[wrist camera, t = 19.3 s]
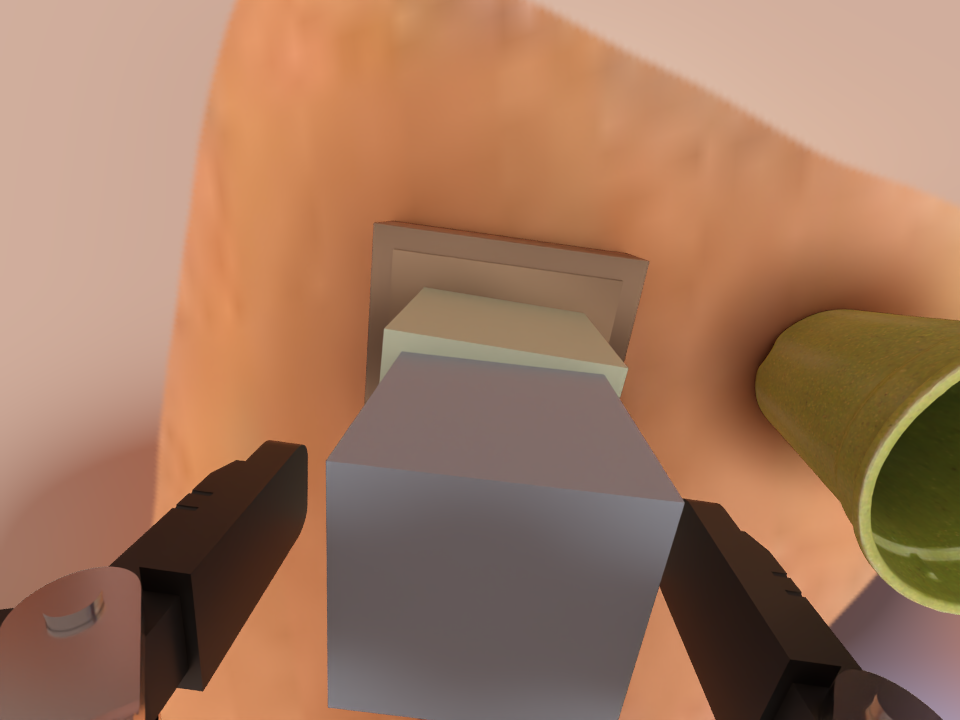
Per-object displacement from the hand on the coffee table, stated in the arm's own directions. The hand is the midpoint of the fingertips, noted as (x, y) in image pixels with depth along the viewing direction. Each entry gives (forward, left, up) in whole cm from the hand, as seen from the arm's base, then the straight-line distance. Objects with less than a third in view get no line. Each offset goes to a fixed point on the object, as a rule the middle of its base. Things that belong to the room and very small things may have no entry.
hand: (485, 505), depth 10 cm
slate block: (0, 0, -2) cm, 2 cm away
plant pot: (+1, -15, -12) cm, 19 cm away
